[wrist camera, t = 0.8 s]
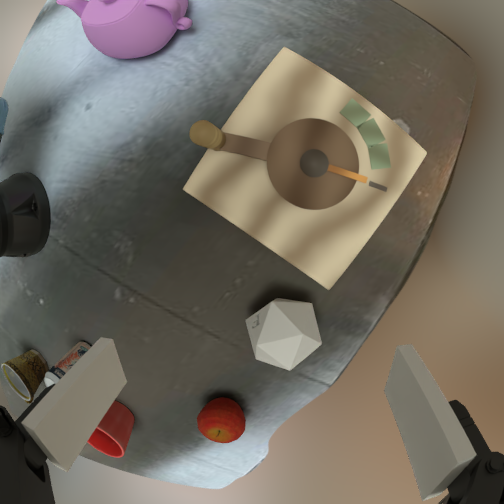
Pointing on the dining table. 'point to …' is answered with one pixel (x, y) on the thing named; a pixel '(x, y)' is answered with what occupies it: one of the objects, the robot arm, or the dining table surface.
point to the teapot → (130, 24)
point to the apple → (221, 420)
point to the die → (284, 332)
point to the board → (272, 203)
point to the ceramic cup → (25, 373)
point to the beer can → (65, 363)
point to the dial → (296, 159)
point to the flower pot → (113, 431)
